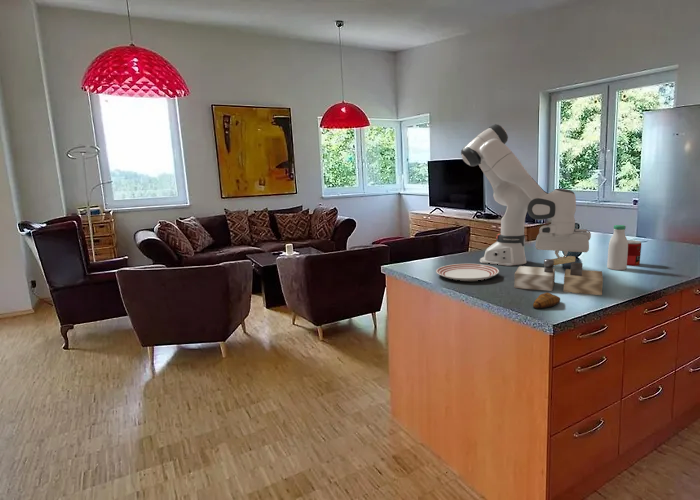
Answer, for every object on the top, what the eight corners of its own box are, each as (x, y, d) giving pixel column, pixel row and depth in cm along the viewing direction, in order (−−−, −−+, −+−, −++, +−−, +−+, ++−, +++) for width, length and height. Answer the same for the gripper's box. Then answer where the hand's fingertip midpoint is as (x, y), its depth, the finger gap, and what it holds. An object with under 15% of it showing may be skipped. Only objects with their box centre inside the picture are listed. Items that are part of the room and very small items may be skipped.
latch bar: (568, 260, 190) (569, 255, 189) (576, 262, 186) (576, 256, 186) (541, 265, 183) (542, 259, 182) (549, 267, 180) (549, 261, 179)
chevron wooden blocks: (514, 287, 183) (515, 262, 181) (518, 279, 195) (519, 255, 193) (601, 295, 169) (603, 267, 167) (601, 285, 181) (602, 259, 179)
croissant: (543, 312, 153) (543, 298, 152) (526, 307, 159) (526, 293, 158) (567, 304, 160) (568, 291, 159) (550, 300, 166) (551, 287, 165)
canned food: (639, 266, 210) (641, 243, 208) (619, 265, 215) (621, 242, 213) (639, 263, 217) (641, 240, 215) (620, 261, 221) (621, 239, 219)
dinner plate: (460, 287, 187) (461, 280, 186) (424, 274, 211) (424, 267, 211) (512, 279, 197) (512, 271, 197) (472, 267, 222) (472, 260, 221)
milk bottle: (629, 270, 204) (632, 226, 200) (610, 270, 205) (613, 226, 202) (622, 266, 211) (625, 224, 207) (604, 266, 213) (607, 224, 209)
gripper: (591, 228, 184) (589, 261, 187) (537, 226, 194) (536, 258, 197) (590, 230, 179) (588, 264, 181) (535, 228, 189) (534, 260, 191)
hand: (560, 261), depth 189 cm, fingers closed
